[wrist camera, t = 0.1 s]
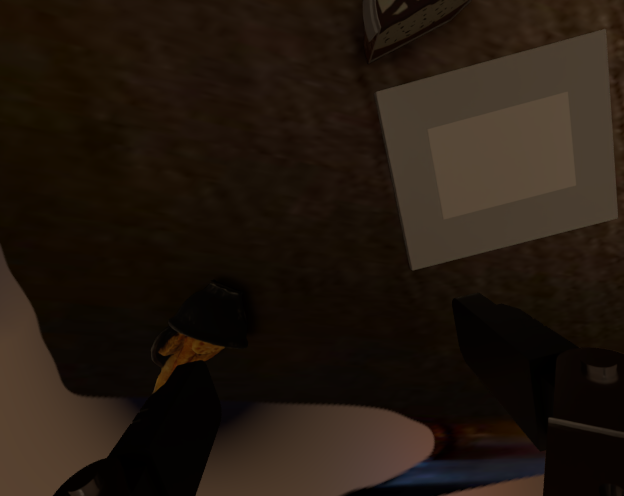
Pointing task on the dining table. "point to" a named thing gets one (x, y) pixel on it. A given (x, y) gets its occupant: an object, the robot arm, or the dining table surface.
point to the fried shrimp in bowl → (201, 329)
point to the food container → (403, 22)
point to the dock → (502, 150)
